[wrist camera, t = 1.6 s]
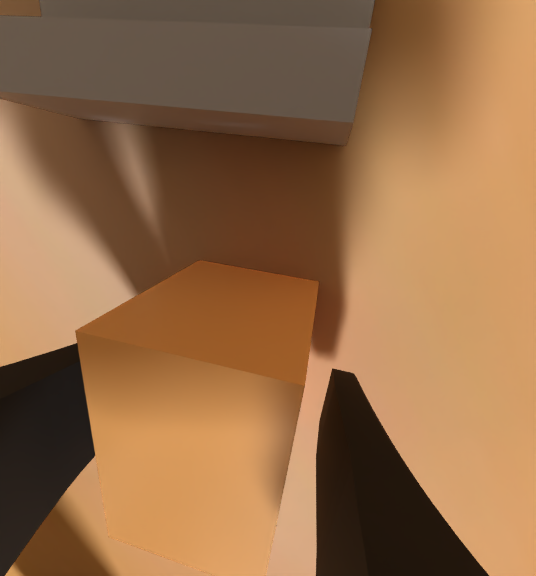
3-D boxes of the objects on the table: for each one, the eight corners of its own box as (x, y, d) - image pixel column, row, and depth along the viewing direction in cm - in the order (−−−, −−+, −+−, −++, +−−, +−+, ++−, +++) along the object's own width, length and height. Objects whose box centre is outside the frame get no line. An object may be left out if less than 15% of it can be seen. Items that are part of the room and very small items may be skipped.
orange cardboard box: (319, 280, 9) (304, 385, 4) (291, 423, 11) (261, 593, 6) (200, 259, 9) (75, 330, 5) (197, 397, 12) (108, 536, 7)
